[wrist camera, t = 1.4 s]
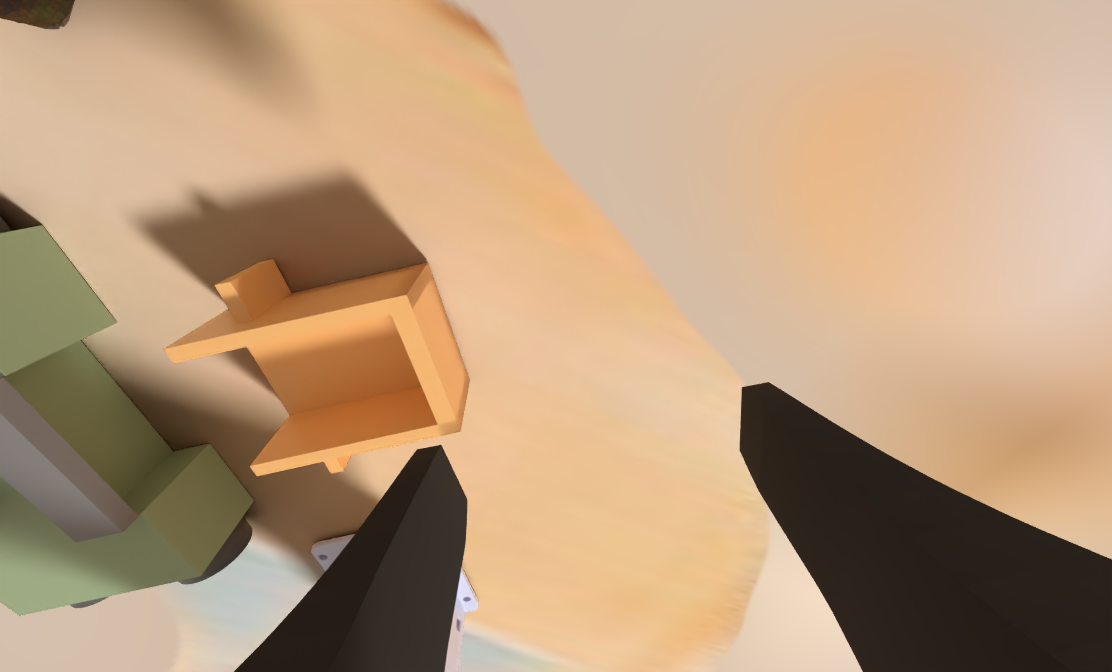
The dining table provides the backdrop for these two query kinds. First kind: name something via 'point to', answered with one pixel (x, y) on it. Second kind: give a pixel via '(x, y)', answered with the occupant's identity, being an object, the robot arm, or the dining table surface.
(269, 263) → the wooden drawer
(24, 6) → the bolt
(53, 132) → the dining table surface
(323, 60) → the dining table surface
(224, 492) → the green block with wheels
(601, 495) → the dining table surface
